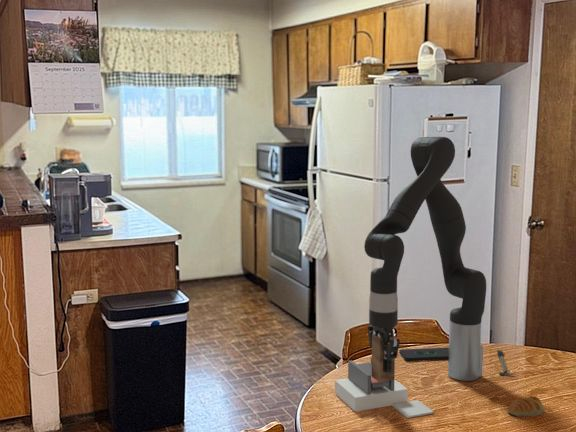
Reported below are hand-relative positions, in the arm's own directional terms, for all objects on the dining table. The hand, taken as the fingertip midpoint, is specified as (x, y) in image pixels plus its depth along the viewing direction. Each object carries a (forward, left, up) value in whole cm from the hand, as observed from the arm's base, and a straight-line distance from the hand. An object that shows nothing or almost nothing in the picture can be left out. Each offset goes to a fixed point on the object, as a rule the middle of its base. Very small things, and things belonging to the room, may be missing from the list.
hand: (382, 368), depth 186 cm
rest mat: (-7, +5, -11) cm, 14 cm away
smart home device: (-34, -29, -12) cm, 47 cm away
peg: (0, 0, -3) cm, 3 cm away
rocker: (0, -6, -4) cm, 8 cm away
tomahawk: (-52, -14, -12) cm, 55 cm away
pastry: (-35, +17, -12) cm, 40 cm away
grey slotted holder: (0, -6, -11) cm, 13 cm away
